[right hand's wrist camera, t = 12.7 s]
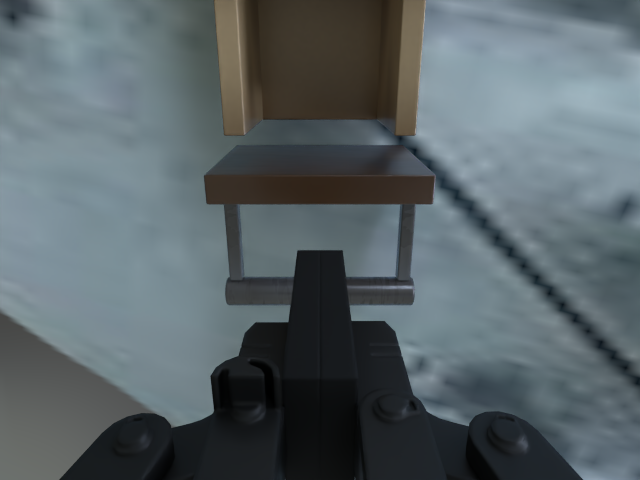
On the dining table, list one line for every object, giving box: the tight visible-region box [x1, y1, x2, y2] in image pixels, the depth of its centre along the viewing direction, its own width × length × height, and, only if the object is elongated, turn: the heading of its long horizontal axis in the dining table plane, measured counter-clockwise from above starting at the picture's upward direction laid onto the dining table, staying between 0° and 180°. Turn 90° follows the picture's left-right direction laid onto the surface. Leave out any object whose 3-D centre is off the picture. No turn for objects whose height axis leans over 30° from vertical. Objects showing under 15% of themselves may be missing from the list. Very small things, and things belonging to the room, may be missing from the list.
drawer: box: [204, 0, 436, 305], centre depth 18 cm, size 25×9×7 cm, turn 0°
